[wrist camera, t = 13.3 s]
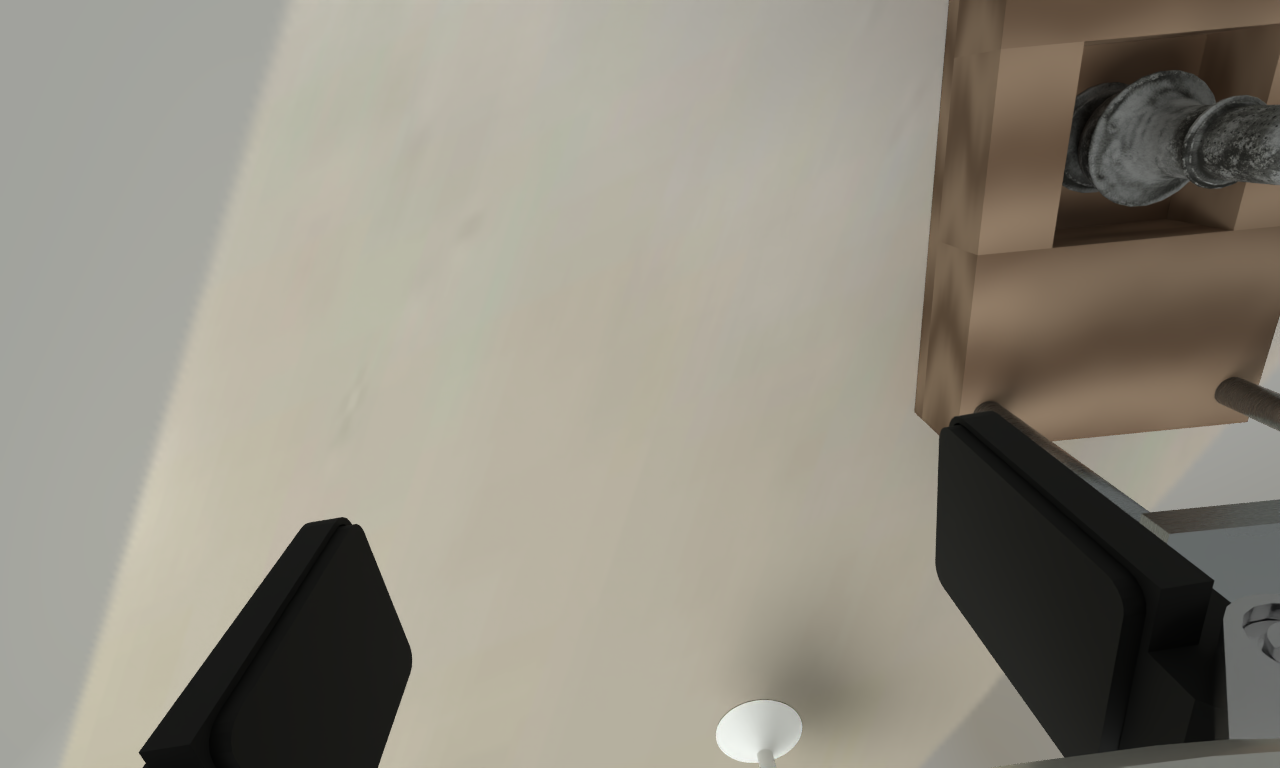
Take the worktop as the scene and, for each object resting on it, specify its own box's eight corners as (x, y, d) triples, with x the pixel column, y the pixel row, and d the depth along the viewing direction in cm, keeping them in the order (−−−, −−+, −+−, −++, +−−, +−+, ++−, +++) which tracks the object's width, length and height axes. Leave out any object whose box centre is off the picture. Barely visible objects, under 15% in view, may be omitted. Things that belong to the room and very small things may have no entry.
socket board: (953, -49, 30) (1015, -81, 26) (1288, -80, 30) (1410, -117, 26) (914, 412, 39) (955, 450, 35) (1172, 386, 39) (1247, 421, 35)
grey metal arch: (962, 382, 33) (1169, 534, 21) (1268, 352, 33) (1650, 485, 21) (955, 450, 35) (1143, 629, 22) (1247, 421, 35) (1592, 583, 23)
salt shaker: (1044, 88, 32) (1279, 69, 21) (1163, 64, 32) (1465, 32, 20) (1038, 208, 34) (1246, 249, 23) (1150, 186, 34) (1414, 218, 23)
